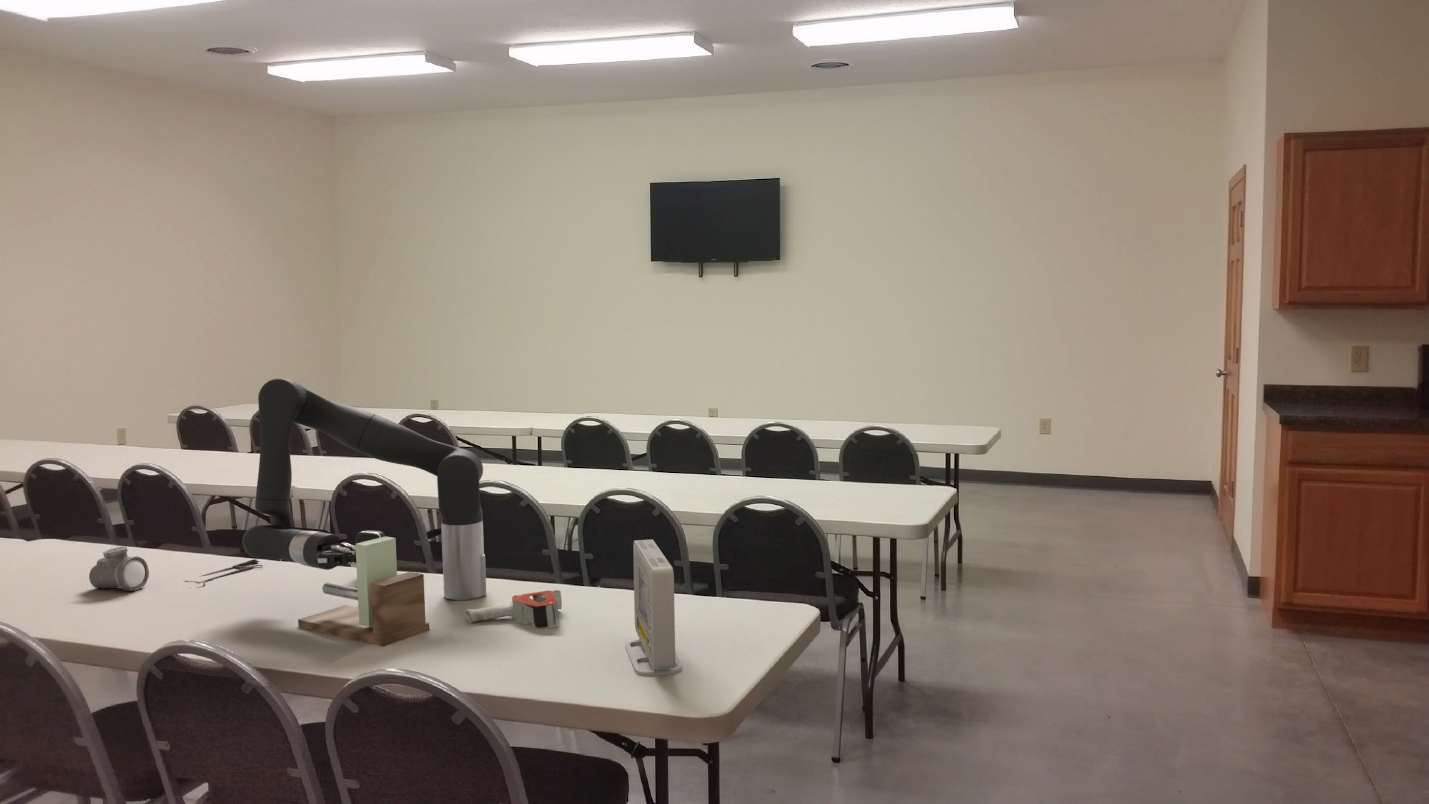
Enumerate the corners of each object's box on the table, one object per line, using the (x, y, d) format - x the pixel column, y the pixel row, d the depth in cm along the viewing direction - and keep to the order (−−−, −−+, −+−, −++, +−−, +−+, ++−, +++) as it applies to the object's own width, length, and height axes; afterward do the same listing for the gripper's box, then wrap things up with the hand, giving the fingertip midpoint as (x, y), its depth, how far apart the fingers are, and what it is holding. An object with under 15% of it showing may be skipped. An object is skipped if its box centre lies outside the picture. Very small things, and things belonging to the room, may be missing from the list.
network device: (688, 679, 187) (686, 568, 185) (639, 683, 185) (637, 572, 183) (664, 635, 212) (662, 537, 210) (621, 638, 210) (619, 539, 208)
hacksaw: (255, 563, 276) (255, 557, 276) (281, 568, 271) (281, 562, 271) (168, 585, 256) (168, 579, 256) (194, 591, 251) (193, 584, 250)
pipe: (321, 596, 223) (321, 583, 222) (333, 593, 225) (332, 579, 225) (393, 611, 211) (392, 597, 211) (404, 608, 213) (403, 594, 213)
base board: (298, 626, 220) (295, 570, 219) (345, 611, 230) (343, 557, 229) (383, 646, 207) (380, 586, 205) (429, 630, 217) (427, 573, 216)
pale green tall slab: (359, 624, 213) (355, 543, 212) (388, 614, 220) (385, 536, 218) (369, 626, 212) (365, 545, 210) (398, 616, 218) (395, 538, 216)
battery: (389, 575, 261) (387, 530, 259) (380, 579, 257) (378, 533, 256) (365, 573, 263) (363, 528, 262) (356, 577, 259) (354, 531, 258)
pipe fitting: (154, 583, 254) (144, 543, 252) (127, 595, 246) (117, 553, 245) (115, 586, 257) (105, 545, 256) (87, 597, 250) (77, 556, 248)
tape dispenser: (461, 630, 223) (529, 640, 211) (458, 605, 222) (526, 614, 211) (521, 605, 237) (588, 614, 225) (518, 582, 237) (585, 589, 225)
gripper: (288, 538, 218) (344, 548, 209) (341, 526, 230) (396, 534, 220) (290, 573, 219) (346, 584, 210) (343, 560, 230) (397, 570, 221)
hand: (371, 559), depth 215 cm, fingers closed
